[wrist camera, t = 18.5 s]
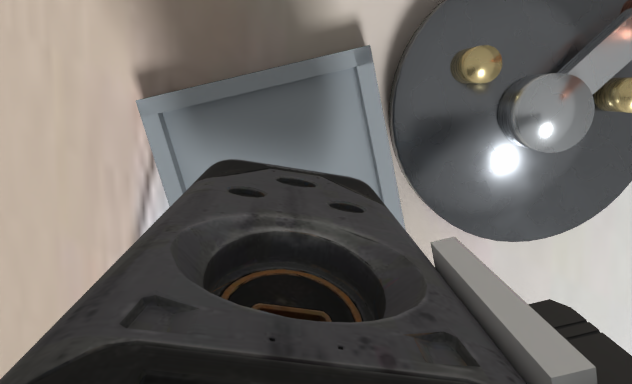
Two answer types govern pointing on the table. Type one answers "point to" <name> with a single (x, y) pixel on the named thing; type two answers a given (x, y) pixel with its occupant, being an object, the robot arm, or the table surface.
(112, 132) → the table surface
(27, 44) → the table surface
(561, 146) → the crank
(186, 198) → the electronic device
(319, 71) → the tray
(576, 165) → the crank base
